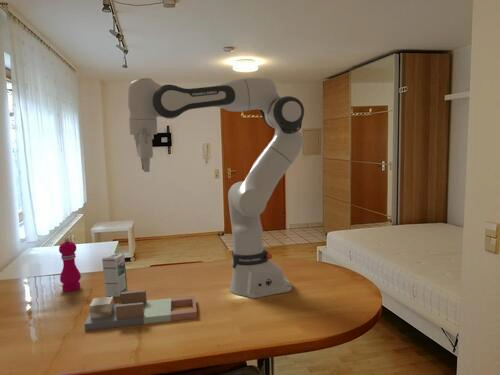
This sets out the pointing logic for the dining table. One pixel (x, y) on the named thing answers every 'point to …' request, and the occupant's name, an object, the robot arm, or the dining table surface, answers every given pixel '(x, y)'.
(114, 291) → the syrup box
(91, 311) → the birch block
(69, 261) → the pepper mill
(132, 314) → the board
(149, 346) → the dining table surface
